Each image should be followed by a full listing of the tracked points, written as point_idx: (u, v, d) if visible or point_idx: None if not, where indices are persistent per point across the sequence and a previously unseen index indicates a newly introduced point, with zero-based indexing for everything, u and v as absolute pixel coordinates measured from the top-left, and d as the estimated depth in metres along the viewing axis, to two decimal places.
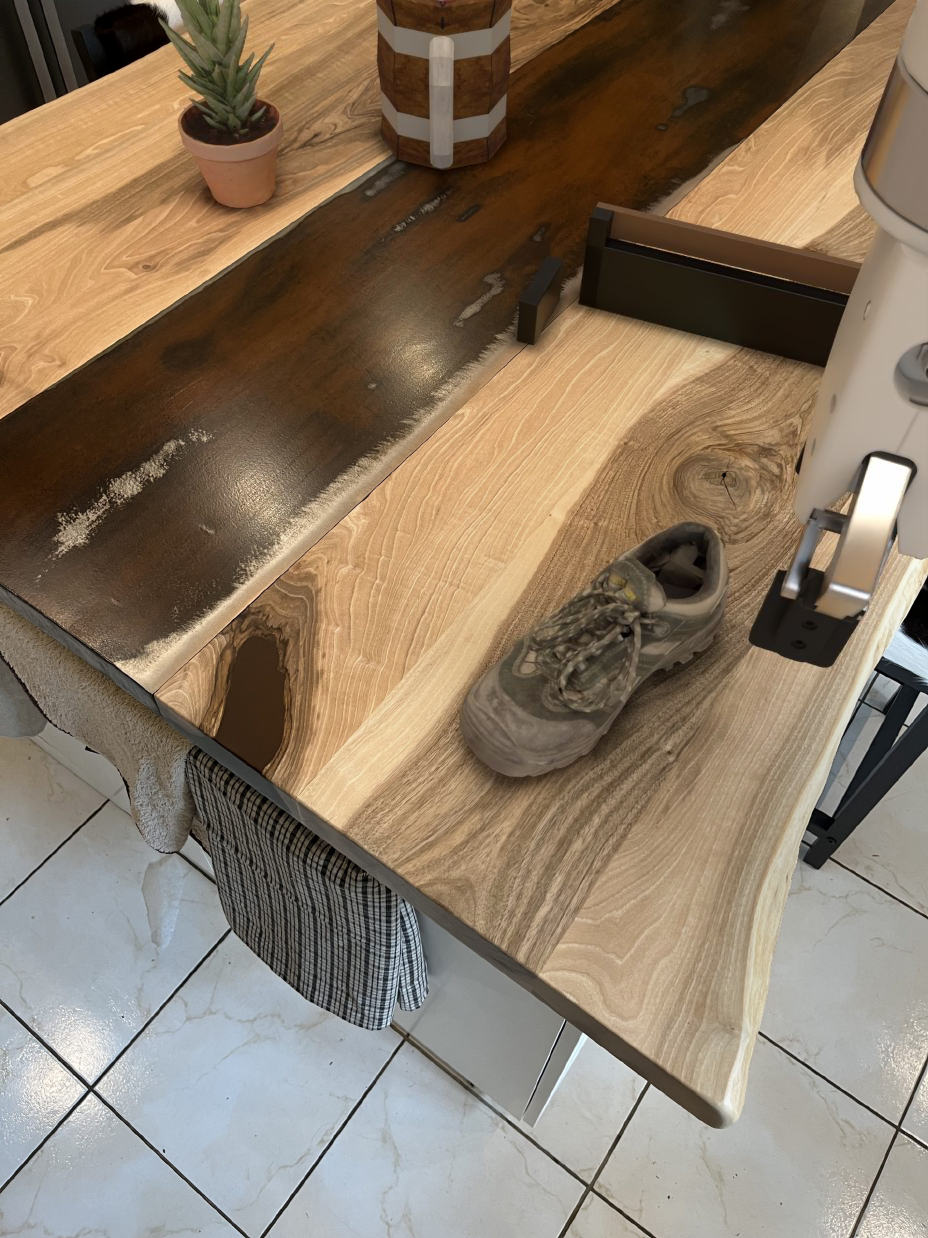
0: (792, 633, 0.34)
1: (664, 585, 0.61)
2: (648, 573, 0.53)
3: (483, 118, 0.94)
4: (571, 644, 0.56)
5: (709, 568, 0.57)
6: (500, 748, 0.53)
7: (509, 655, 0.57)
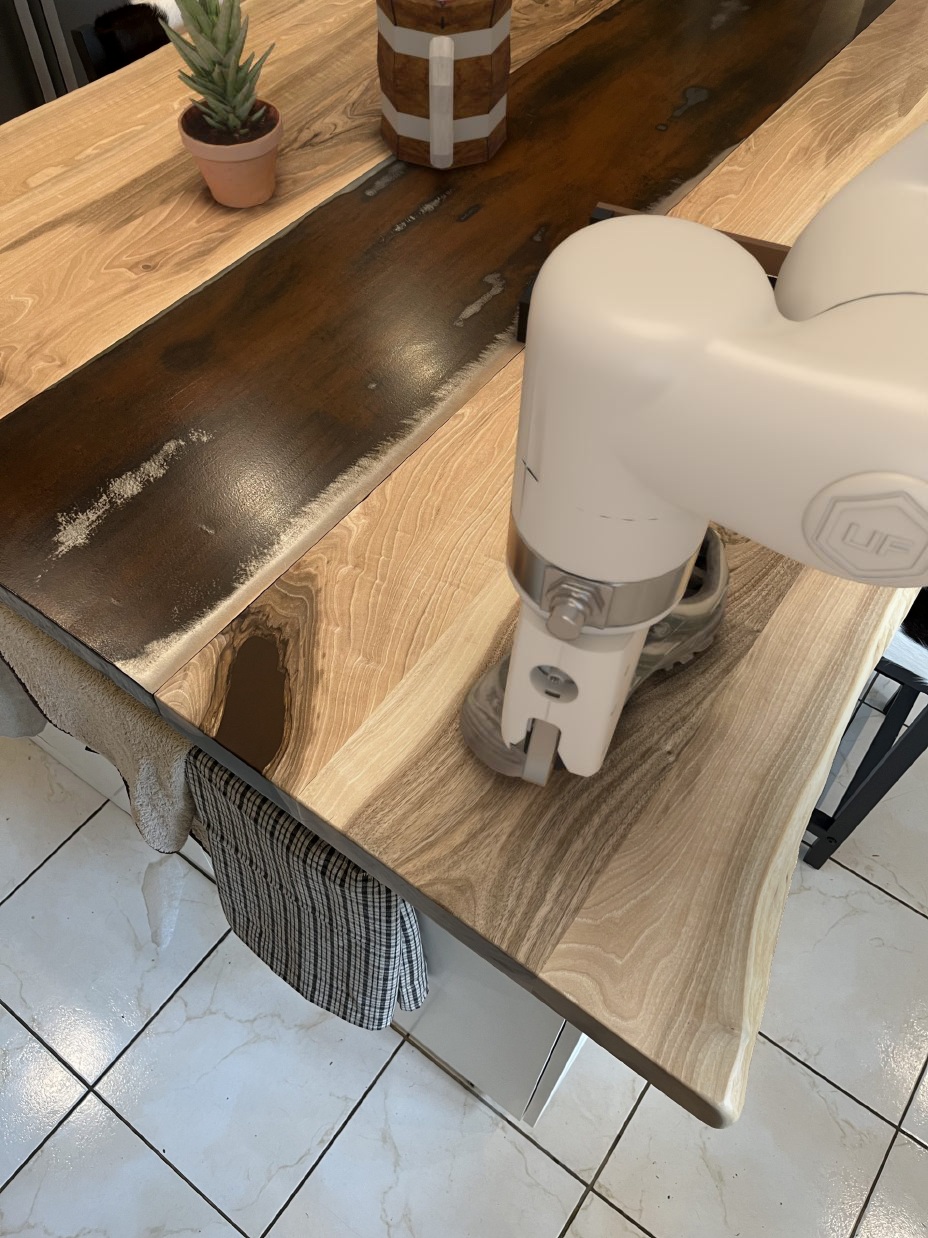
0: None
1: None
2: None
3: (483, 118, 0.94)
4: None
5: (709, 568, 0.57)
6: (500, 748, 0.53)
7: (509, 655, 0.57)
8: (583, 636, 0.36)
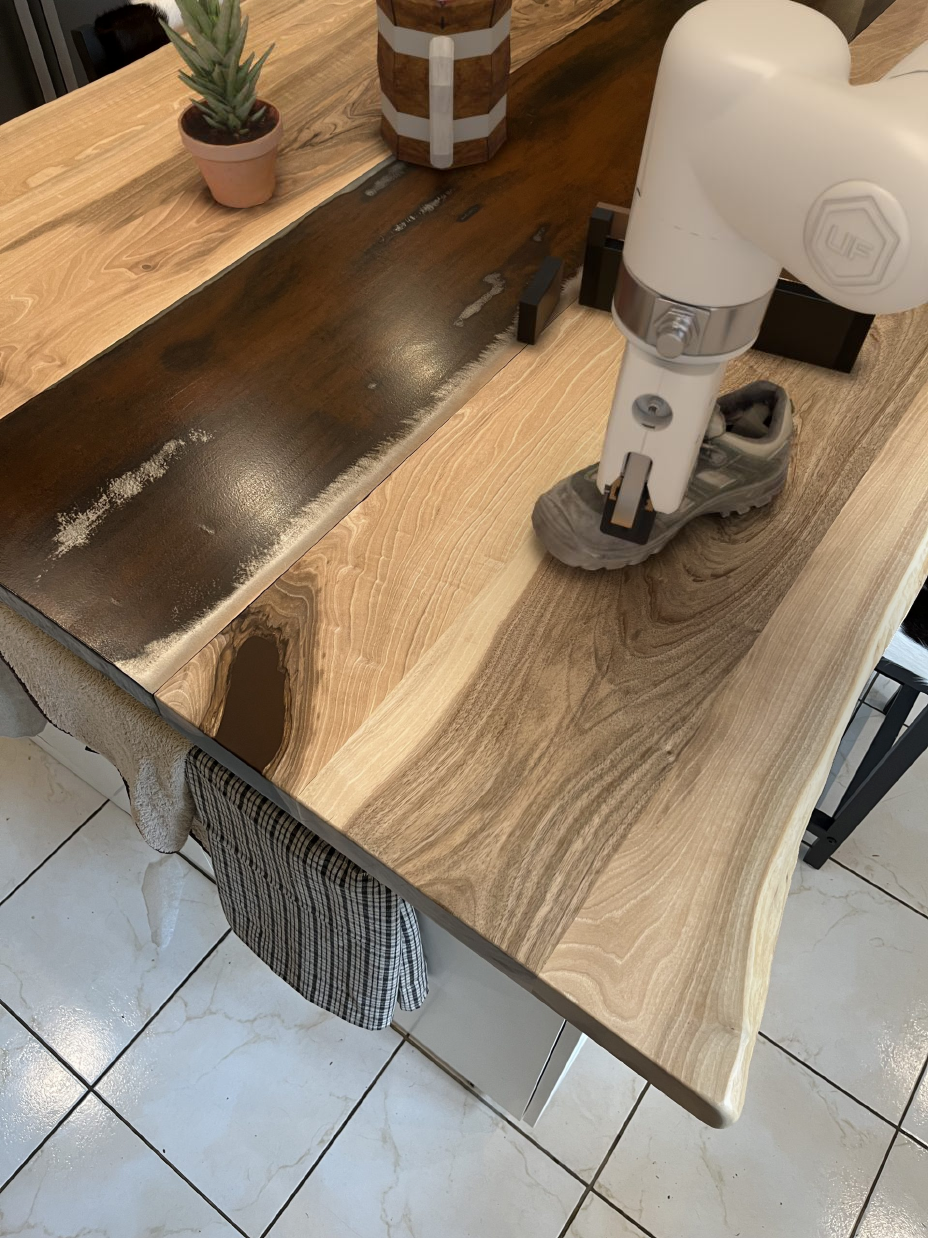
0: None
1: None
2: None
3: (483, 118, 0.94)
4: None
5: (773, 420, 0.64)
6: (560, 531, 0.63)
7: (585, 468, 0.66)
8: (679, 365, 0.46)
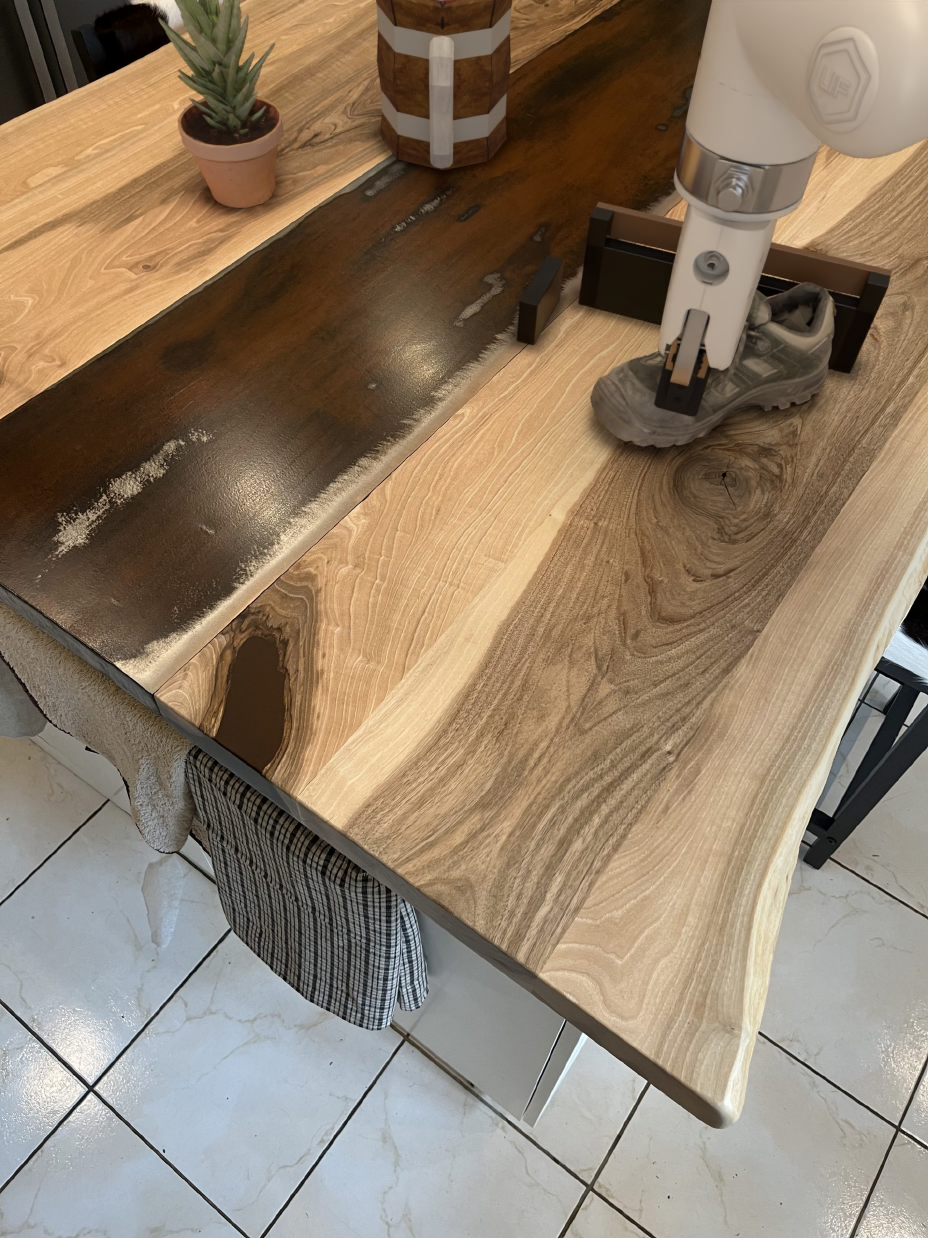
0: (673, 392, 0.66)
1: None
2: (762, 295, 0.68)
3: (483, 118, 0.94)
4: None
5: (815, 317, 0.71)
6: (616, 406, 0.70)
7: None
8: (736, 222, 0.53)
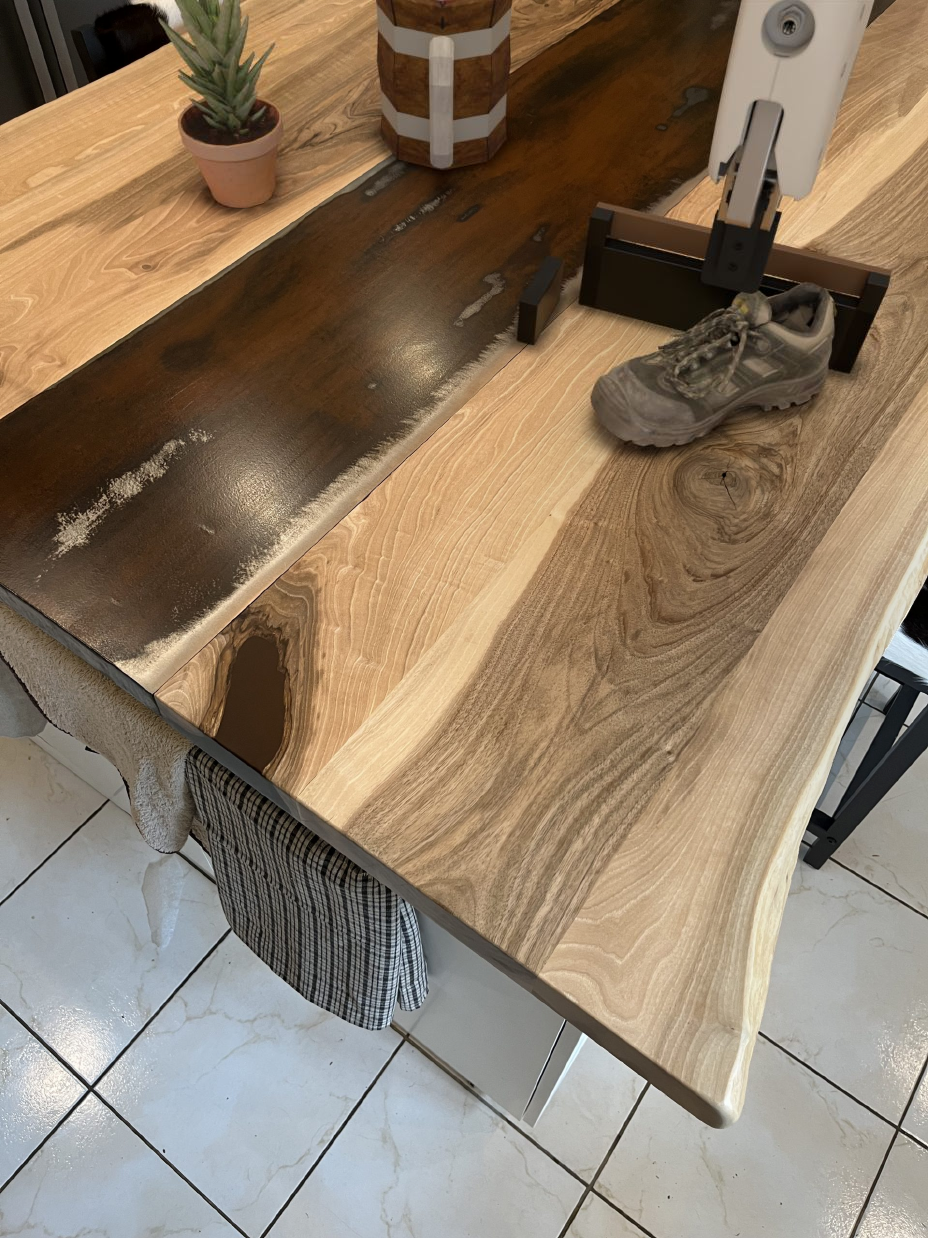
0: (727, 256, 0.50)
1: None
2: (762, 295, 0.68)
3: (483, 118, 0.94)
4: (691, 350, 0.72)
5: (816, 317, 0.71)
6: (616, 405, 0.70)
7: (641, 356, 0.74)
8: None
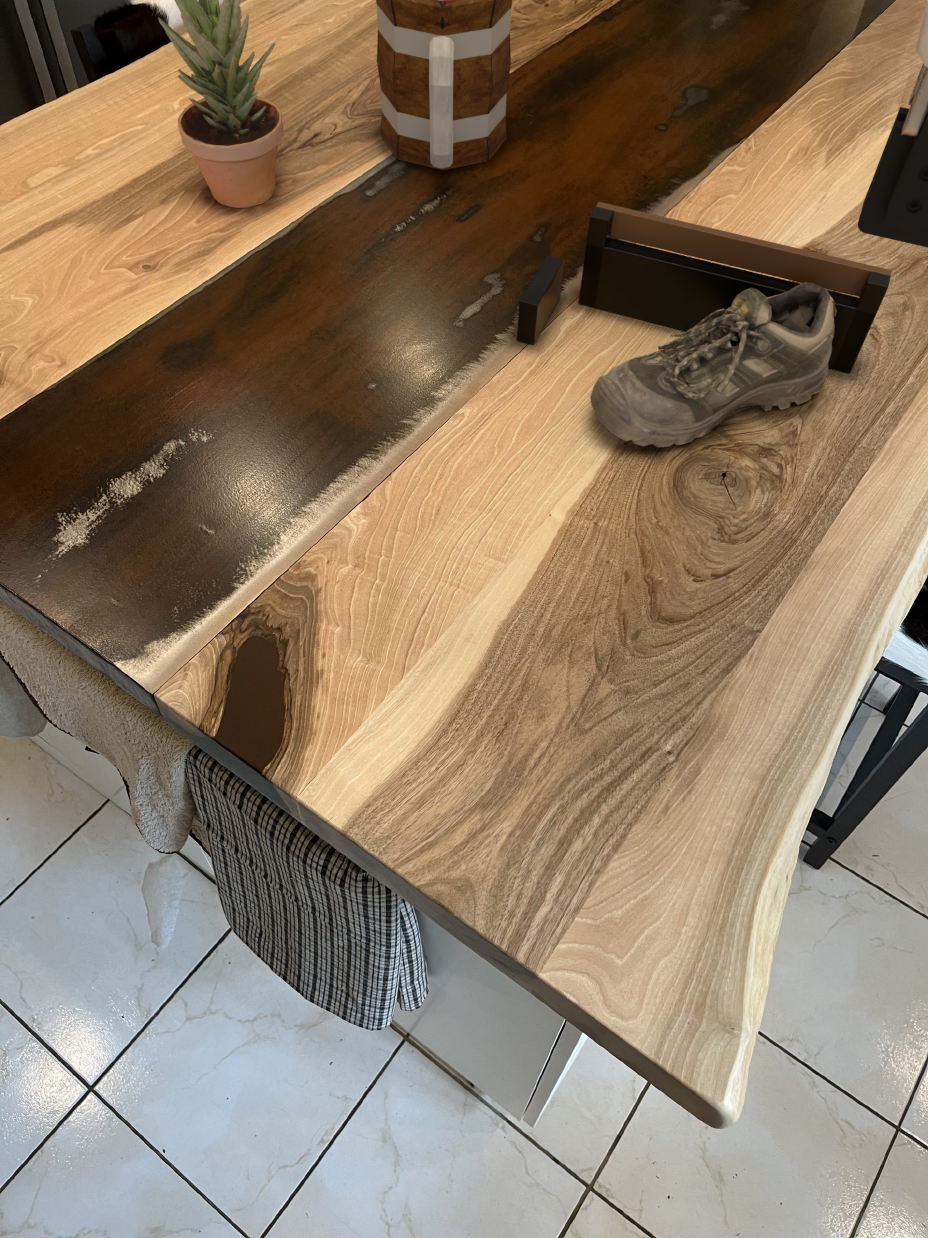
0: (908, 190, 0.34)
1: None
2: (762, 295, 0.68)
3: (483, 118, 0.94)
4: (691, 351, 0.72)
5: (816, 317, 0.71)
6: (616, 405, 0.70)
7: (641, 356, 0.74)
8: None
